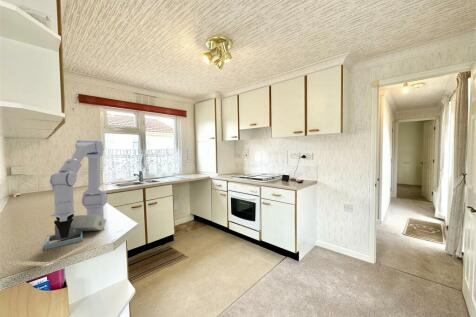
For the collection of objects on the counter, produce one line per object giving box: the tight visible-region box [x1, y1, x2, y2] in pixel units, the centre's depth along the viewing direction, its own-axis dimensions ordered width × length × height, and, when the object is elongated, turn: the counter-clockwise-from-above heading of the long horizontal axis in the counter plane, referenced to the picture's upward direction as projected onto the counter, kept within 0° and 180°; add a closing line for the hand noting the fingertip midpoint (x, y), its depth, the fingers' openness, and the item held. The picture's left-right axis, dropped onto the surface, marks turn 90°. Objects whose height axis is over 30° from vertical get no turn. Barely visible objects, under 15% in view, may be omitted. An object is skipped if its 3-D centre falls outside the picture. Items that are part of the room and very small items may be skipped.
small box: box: [71, 214, 107, 232], centre depth 89 cm, size 8×6×10 cm
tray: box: [43, 230, 84, 250], centre depth 79 cm, size 11×11×2 cm
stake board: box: [44, 224, 75, 241], centre depth 87 cm, size 9×10×6 cm
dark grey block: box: [51, 225, 75, 241], centre depth 79 cm, size 5×7×4 cm
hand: (65, 234), depth 79 cm, fingers closed on dark grey block, 5 cm apart
